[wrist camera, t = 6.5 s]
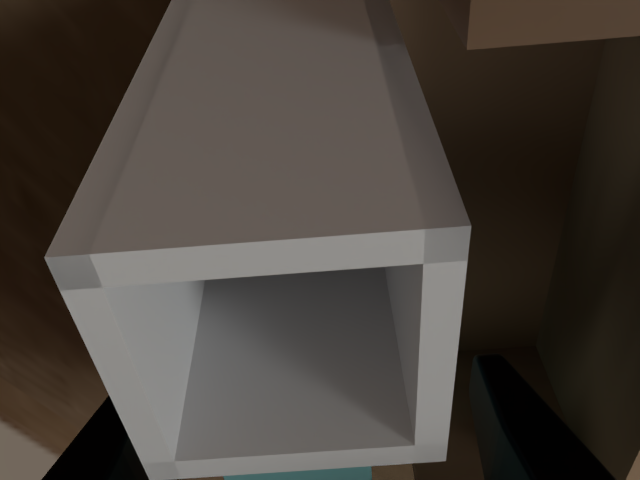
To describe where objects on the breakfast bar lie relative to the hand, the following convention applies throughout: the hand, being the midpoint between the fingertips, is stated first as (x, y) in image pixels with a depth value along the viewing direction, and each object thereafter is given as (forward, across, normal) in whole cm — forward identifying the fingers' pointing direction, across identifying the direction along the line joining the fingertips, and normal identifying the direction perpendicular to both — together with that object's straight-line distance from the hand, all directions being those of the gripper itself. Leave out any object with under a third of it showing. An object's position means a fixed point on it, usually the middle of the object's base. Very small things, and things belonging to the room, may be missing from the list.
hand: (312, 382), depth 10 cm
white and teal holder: (+4, 0, -1) cm, 4 cm away
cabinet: (+6, -2, -1) cm, 6 cm away
